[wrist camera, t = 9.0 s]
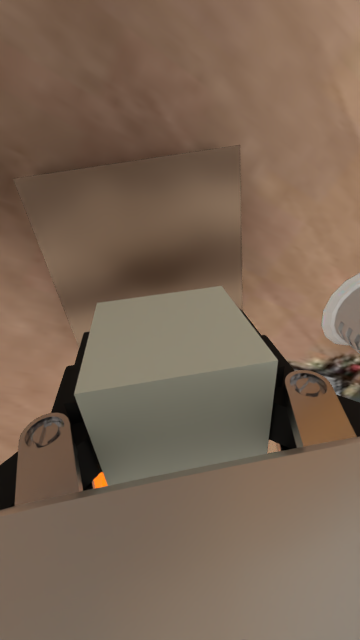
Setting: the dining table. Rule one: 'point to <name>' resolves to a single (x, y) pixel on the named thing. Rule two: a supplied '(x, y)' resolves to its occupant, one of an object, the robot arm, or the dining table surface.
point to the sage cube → (174, 384)
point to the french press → (344, 314)
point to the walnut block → (138, 229)
